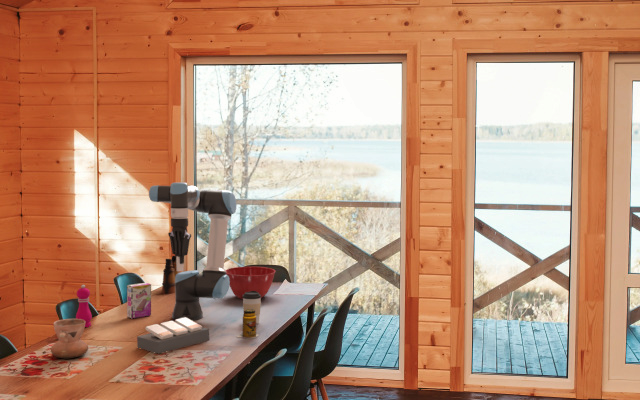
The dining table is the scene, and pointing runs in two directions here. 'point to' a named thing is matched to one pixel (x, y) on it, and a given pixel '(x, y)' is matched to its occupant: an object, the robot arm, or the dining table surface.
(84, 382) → the dining table surface
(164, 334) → the rocker
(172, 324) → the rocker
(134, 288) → the candy bar box
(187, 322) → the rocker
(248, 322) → the condiment
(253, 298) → the coffee cup
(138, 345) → the power strip
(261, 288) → the mixing bowl
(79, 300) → the pepper mill
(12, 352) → the dining table surface
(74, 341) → the ceramic jug
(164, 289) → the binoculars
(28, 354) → the dining table surface
